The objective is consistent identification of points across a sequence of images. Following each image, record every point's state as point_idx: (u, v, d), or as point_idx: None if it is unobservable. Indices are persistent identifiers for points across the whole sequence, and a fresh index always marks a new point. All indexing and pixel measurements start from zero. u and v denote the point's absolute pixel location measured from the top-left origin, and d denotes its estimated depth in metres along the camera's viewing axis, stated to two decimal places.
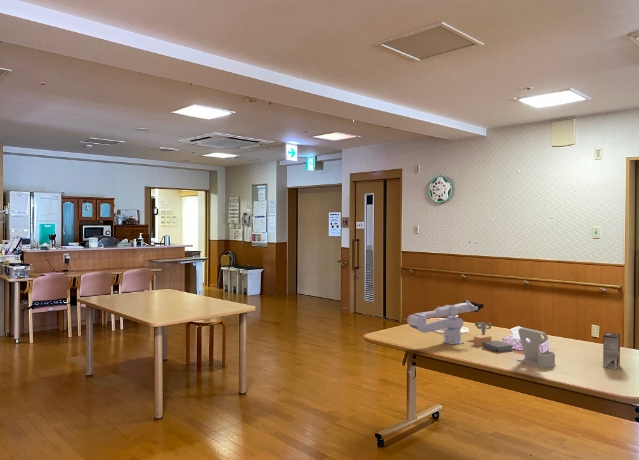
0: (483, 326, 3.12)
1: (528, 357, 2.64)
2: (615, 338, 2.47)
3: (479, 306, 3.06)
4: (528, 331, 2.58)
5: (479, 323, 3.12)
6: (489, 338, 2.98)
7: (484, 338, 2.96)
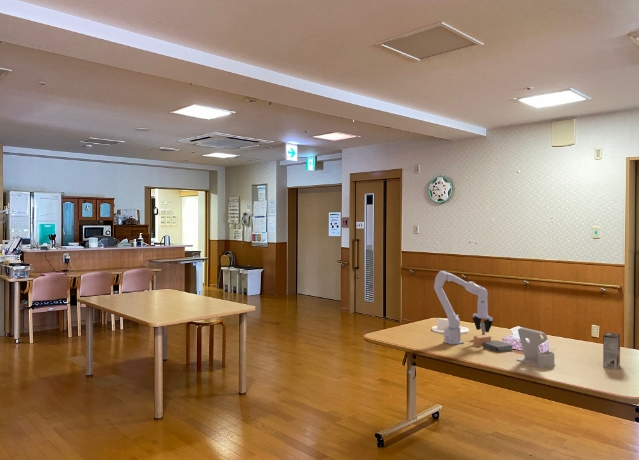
0: (483, 326, 3.12)
1: (528, 357, 2.65)
2: (615, 338, 2.47)
3: (488, 326, 2.95)
4: (528, 331, 2.58)
5: None
6: (489, 338, 2.98)
7: (484, 338, 2.96)
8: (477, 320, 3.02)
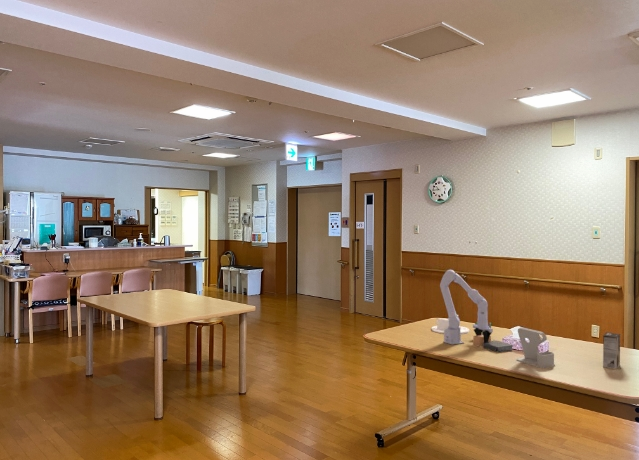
0: None
1: (528, 357, 2.65)
2: (615, 338, 2.47)
3: (486, 337, 2.96)
4: (527, 331, 2.58)
5: None
6: (489, 338, 2.98)
7: None
8: (478, 331, 3.01)
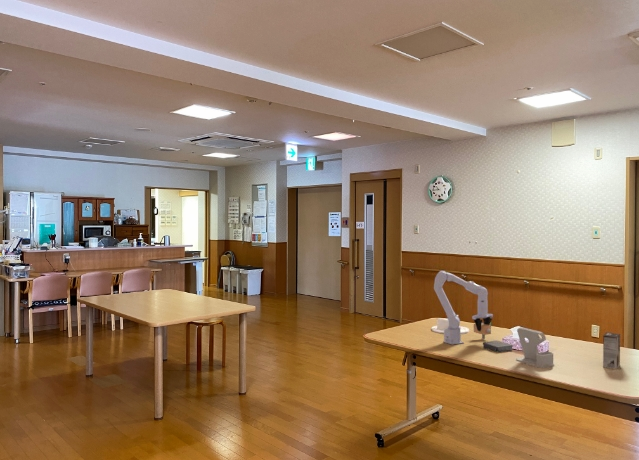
0: None
1: (527, 357, 2.65)
2: (615, 338, 2.47)
3: (478, 325, 2.97)
4: (526, 331, 2.58)
5: None
6: (482, 327, 2.95)
7: None
8: (485, 320, 3.00)
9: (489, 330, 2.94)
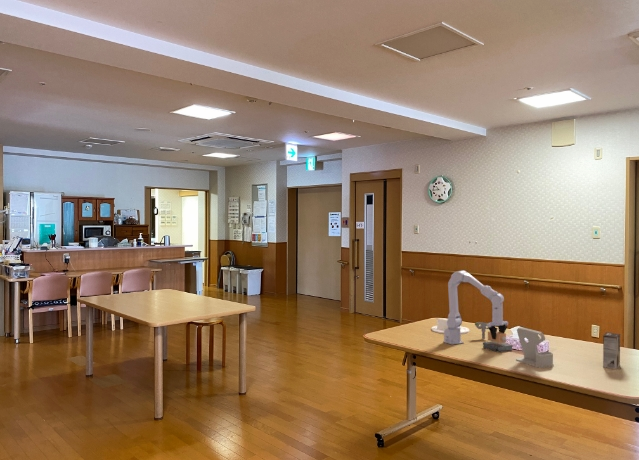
0: (483, 326, 3.12)
1: (527, 357, 2.65)
2: (615, 338, 2.47)
3: (493, 333, 2.86)
4: (526, 331, 2.58)
5: (479, 323, 3.12)
6: (497, 335, 2.85)
7: None
8: (500, 328, 2.89)
9: (504, 338, 2.83)
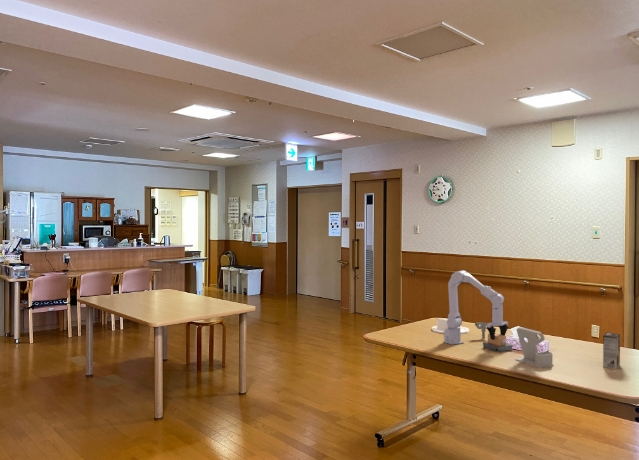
0: (483, 326, 3.12)
1: (527, 357, 2.65)
2: (615, 338, 2.47)
3: (491, 333, 2.86)
4: (525, 331, 2.58)
5: (479, 323, 3.12)
6: (497, 338, 2.85)
7: None
8: (501, 328, 2.90)
9: (504, 341, 2.83)
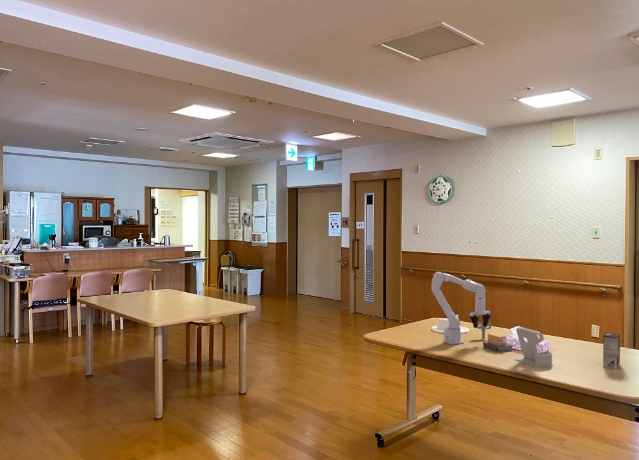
0: (483, 326, 3.12)
1: (527, 357, 2.65)
2: (615, 338, 2.47)
3: (474, 322, 2.99)
4: (525, 331, 2.59)
5: (479, 323, 3.12)
6: (497, 338, 2.85)
7: (492, 336, 2.88)
8: (484, 317, 3.02)
9: (504, 341, 2.83)
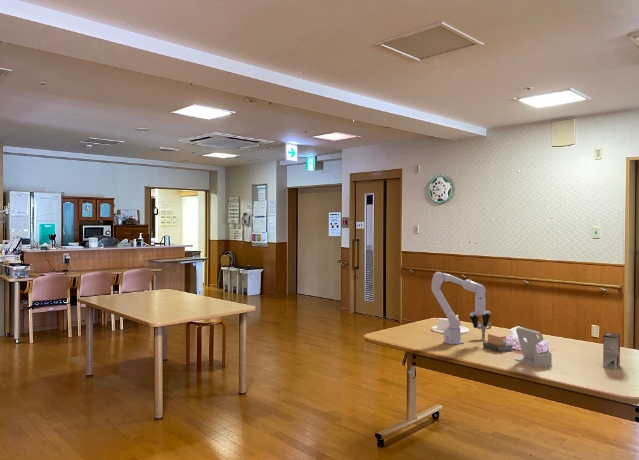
0: (483, 326, 3.12)
1: (526, 357, 2.65)
2: (615, 338, 2.47)
3: (474, 322, 2.99)
4: (525, 331, 2.59)
5: (479, 323, 3.12)
6: (497, 338, 2.85)
7: (492, 336, 2.88)
8: (484, 317, 3.02)
9: (504, 341, 2.83)
